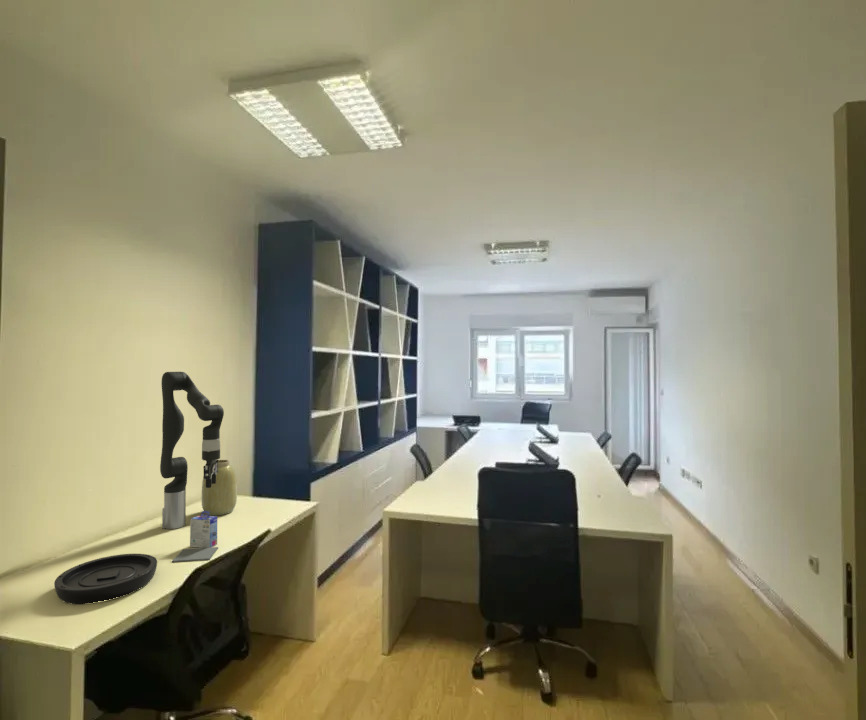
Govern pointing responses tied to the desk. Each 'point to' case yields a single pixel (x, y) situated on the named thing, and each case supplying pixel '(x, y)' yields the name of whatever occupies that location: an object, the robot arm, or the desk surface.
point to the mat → (195, 554)
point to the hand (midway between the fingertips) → (211, 485)
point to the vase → (220, 491)
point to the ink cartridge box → (203, 531)
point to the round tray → (105, 578)
